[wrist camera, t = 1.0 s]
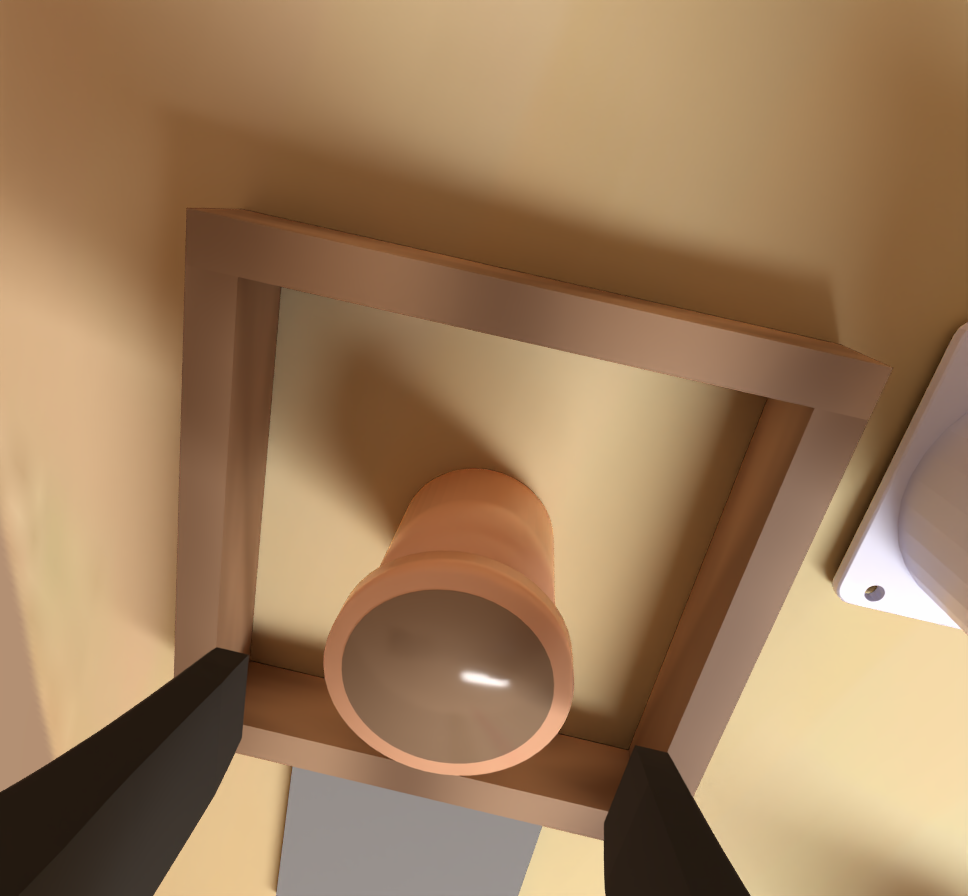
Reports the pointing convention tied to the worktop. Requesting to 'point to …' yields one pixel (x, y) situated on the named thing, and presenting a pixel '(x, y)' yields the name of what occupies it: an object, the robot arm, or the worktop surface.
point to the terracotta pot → (457, 633)
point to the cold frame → (532, 319)
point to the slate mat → (395, 844)
